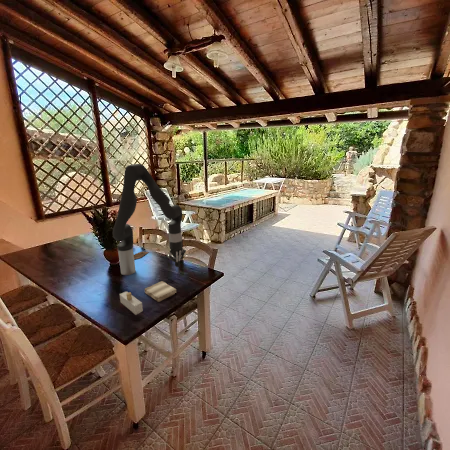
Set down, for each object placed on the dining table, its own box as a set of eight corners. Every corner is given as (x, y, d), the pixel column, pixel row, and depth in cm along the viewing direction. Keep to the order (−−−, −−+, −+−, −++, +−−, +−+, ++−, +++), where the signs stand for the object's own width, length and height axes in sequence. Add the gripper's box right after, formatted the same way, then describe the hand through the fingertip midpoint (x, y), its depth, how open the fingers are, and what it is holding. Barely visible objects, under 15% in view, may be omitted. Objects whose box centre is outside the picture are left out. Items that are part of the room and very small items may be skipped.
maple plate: (144, 293, 145) (144, 288, 145) (162, 285, 154) (162, 281, 153) (158, 302, 136) (158, 297, 136) (176, 293, 145) (176, 289, 144)
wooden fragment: (144, 250, 206) (144, 249, 206) (152, 254, 199) (152, 253, 199) (114, 261, 187) (114, 260, 187) (122, 265, 180) (122, 264, 180)
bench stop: (120, 302, 136) (118, 289, 134) (127, 299, 139) (126, 286, 137) (135, 314, 126) (133, 300, 123) (142, 311, 129) (141, 297, 126)
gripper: (180, 235, 153) (182, 261, 158) (162, 241, 144) (164, 268, 148) (188, 238, 148) (190, 264, 153) (170, 244, 139) (172, 272, 144)
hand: (177, 266), depth 151 cm, fingers closed
